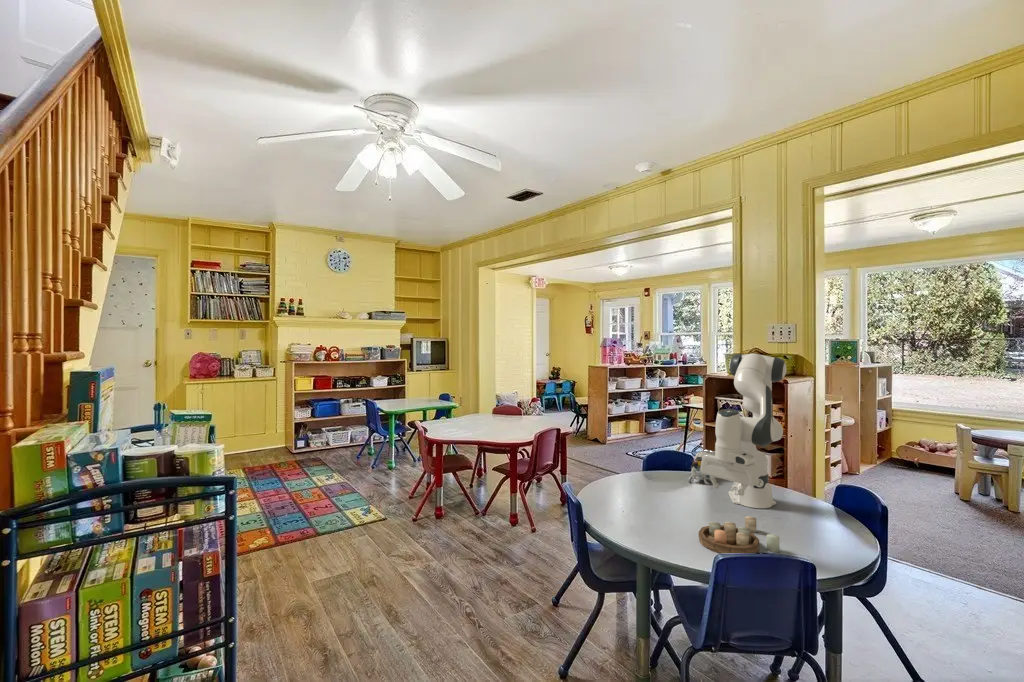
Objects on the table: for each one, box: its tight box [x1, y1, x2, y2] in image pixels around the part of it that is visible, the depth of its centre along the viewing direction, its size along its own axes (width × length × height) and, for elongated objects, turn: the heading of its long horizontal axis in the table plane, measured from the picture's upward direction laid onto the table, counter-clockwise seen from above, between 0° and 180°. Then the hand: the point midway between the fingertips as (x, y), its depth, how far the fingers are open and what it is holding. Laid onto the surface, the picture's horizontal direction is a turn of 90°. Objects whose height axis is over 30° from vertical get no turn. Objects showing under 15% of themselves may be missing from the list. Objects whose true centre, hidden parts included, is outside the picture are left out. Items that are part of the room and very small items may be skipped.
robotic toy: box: [685, 450, 712, 485], centre depth 248 cm, size 13×17×15 cm
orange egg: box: [714, 530, 727, 545], centre depth 167 cm, size 4×4×5 cm
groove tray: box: [698, 521, 760, 554], centre depth 171 cm, size 20×20×6 cm
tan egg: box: [744, 515, 757, 534], centre depth 183 cm, size 4×4×5 cm
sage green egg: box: [766, 533, 781, 554], centre depth 166 cm, size 4×4×5 cm
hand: (728, 491), depth 170 cm, fingers open, 8 cm apart
